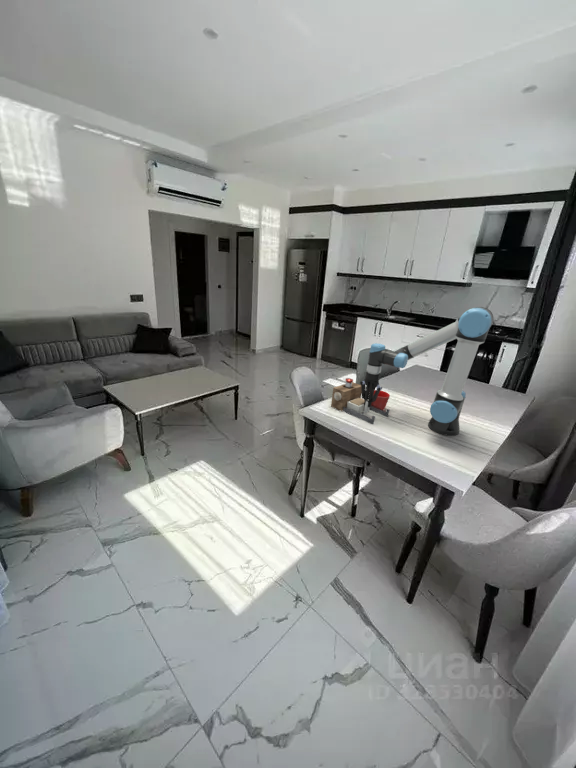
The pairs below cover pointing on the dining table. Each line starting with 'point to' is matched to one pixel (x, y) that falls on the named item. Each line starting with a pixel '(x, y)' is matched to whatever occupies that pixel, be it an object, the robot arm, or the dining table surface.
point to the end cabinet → (345, 395)
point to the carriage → (356, 405)
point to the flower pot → (381, 400)
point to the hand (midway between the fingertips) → (366, 411)
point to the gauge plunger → (348, 383)
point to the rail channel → (365, 418)
